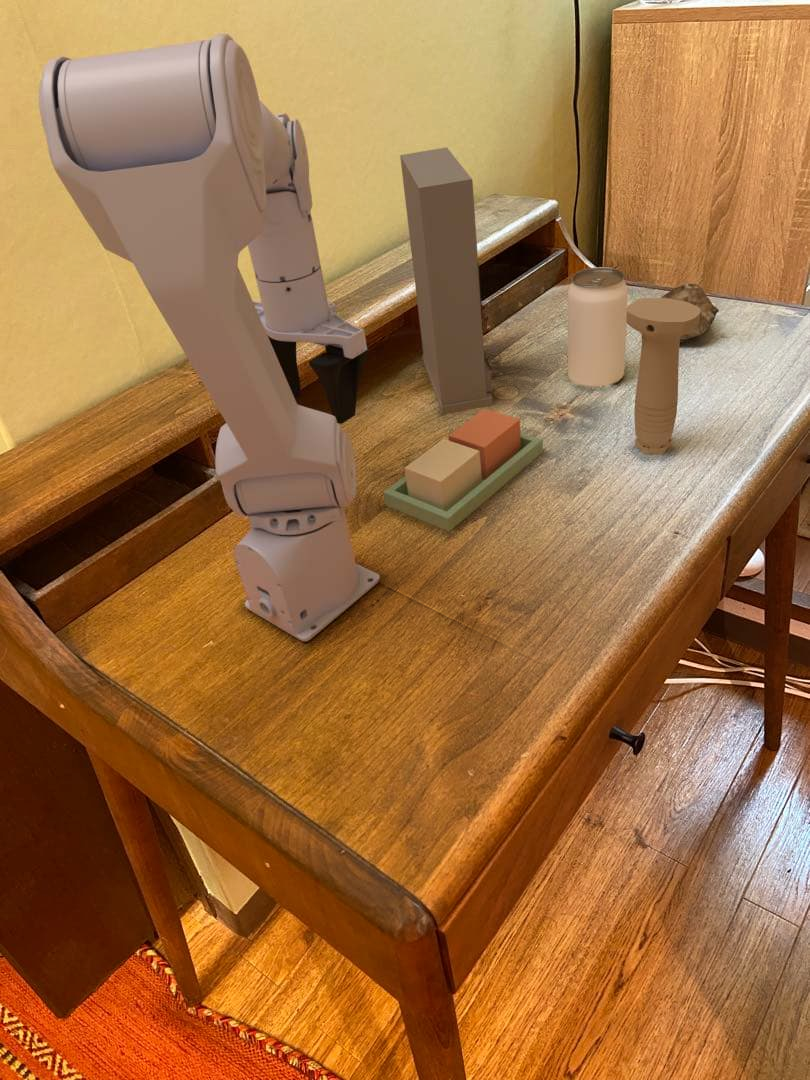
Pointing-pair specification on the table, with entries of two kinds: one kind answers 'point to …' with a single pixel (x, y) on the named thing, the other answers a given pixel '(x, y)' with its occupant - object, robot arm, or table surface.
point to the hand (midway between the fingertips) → (317, 408)
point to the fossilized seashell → (699, 299)
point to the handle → (658, 367)
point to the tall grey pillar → (447, 278)
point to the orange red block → (490, 439)
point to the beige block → (444, 474)
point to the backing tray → (451, 518)
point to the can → (597, 326)
